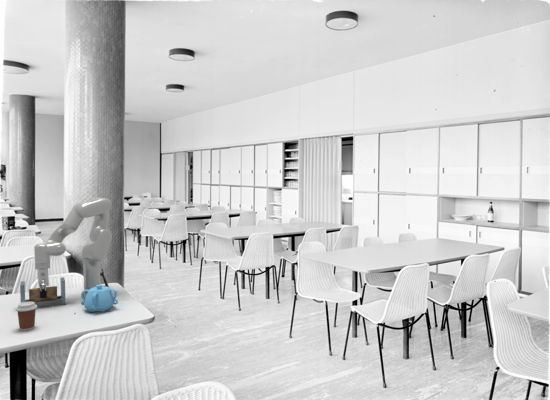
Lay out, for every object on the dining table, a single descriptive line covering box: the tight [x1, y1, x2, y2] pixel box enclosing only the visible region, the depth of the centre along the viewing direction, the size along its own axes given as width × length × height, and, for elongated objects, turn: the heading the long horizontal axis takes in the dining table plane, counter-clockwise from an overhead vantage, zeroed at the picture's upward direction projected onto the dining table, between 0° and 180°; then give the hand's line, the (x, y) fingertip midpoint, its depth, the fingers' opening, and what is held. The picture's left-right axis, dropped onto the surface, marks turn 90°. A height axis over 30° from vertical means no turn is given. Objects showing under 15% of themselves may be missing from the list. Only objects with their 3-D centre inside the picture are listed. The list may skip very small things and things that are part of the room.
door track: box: [19, 277, 67, 310], centre depth 251 cm, size 22×9×14 cm, turn 118°
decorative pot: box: [80, 284, 119, 313], centre depth 244 cm, size 16×16×14 cm
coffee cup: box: [15, 302, 38, 331], centre depth 214 cm, size 9×9×12 cm
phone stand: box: [100, 268, 110, 288], centre depth 290 cm, size 9×6×12 cm, turn 113°
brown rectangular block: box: [28, 285, 58, 302], centre depth 251 cm, size 14×3×9 cm, turn 118°
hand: (43, 295), depth 251 cm, fingers open, 9 cm apart
